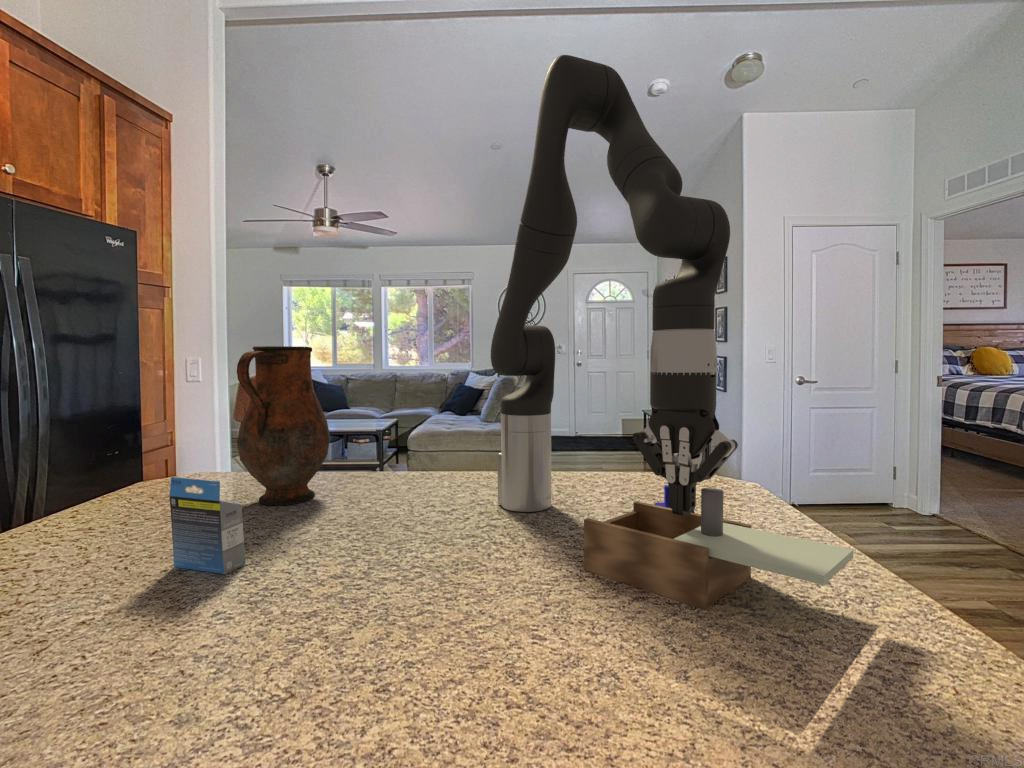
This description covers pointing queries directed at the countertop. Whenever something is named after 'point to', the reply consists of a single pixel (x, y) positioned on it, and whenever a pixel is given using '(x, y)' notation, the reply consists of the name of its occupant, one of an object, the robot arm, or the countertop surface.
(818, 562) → the cover plate
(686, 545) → the walnut box
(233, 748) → the countertop surface
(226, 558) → the label tape box
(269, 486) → the pitcher
